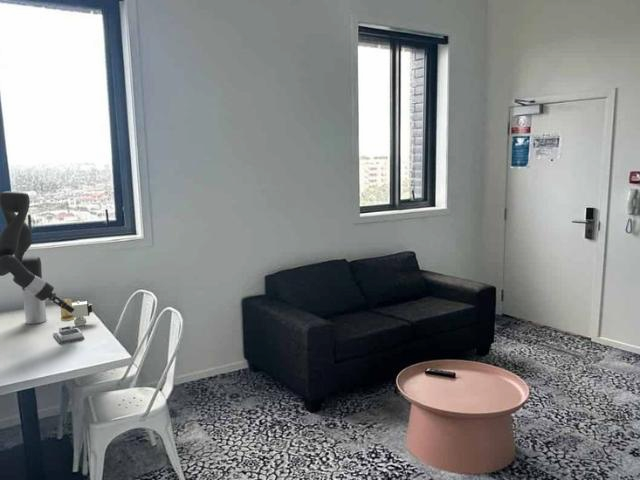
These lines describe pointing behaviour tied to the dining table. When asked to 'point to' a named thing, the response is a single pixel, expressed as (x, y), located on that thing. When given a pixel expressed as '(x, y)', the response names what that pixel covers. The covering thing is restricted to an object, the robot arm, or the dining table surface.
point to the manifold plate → (68, 335)
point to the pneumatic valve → (81, 312)
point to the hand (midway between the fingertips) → (71, 309)
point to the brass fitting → (64, 313)
